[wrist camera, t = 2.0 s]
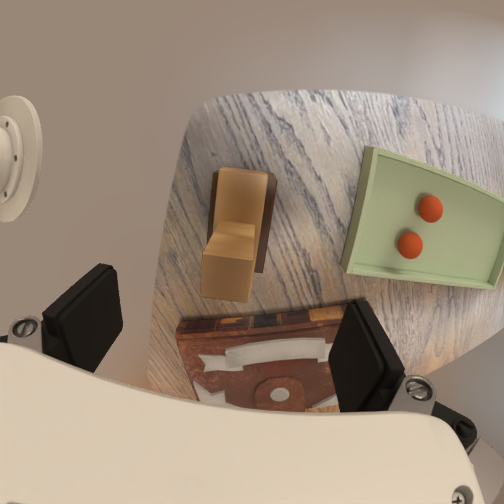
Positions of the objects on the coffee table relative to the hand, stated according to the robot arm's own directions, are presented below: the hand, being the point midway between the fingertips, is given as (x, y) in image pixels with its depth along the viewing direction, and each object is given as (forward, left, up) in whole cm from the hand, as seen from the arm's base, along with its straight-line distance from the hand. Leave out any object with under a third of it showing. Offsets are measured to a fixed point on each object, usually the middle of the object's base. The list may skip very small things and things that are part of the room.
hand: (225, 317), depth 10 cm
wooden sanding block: (0, 0, -13) cm, 13 cm away
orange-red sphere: (+18, 0, -16) cm, 24 cm away
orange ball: (+20, +4, -16) cm, 26 cm away
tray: (+25, +2, -19) cm, 31 cm away
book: (+7, -19, -19) cm, 27 cm away
